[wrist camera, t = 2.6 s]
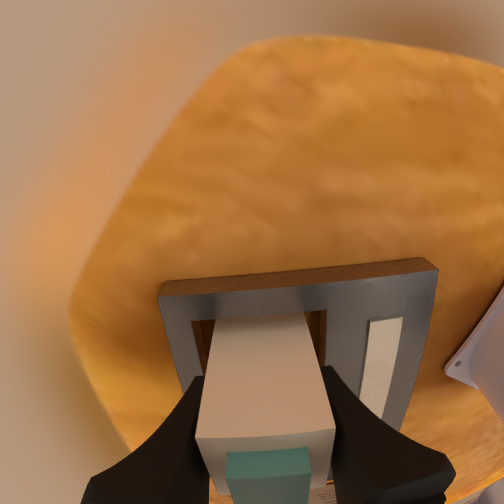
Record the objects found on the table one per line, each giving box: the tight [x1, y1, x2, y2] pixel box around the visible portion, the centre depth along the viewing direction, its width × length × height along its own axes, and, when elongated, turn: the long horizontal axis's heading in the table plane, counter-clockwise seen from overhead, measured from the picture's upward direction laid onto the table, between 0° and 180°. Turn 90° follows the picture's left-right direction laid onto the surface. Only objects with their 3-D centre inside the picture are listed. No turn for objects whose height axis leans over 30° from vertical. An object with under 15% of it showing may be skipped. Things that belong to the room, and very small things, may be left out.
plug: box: [195, 312, 336, 504], centre depth 11 cm, size 4×4×8 cm
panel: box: [157, 258, 439, 481], centre depth 15 cm, size 16×12×2 cm
